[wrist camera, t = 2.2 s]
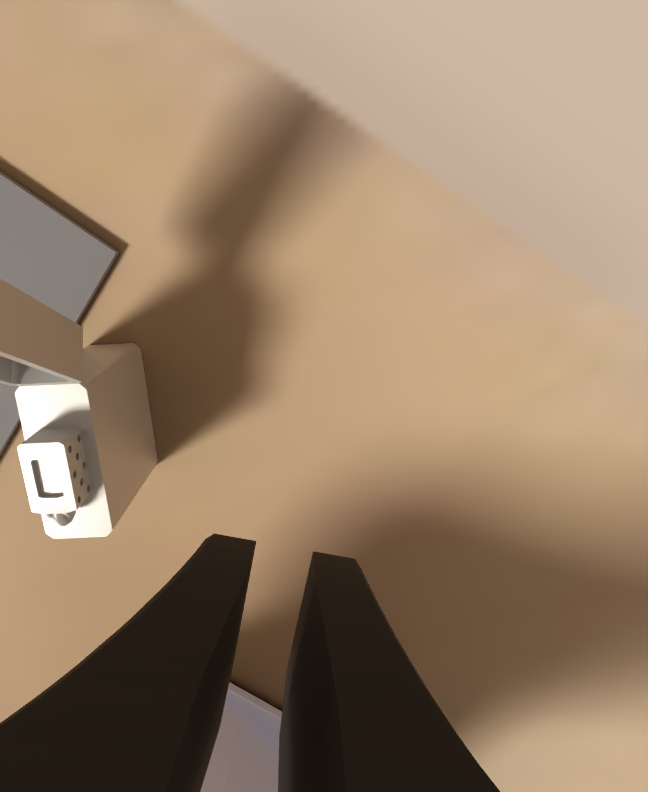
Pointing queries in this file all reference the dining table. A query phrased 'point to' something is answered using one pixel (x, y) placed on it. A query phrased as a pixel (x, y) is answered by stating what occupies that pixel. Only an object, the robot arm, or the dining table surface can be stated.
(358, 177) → the dining table surface
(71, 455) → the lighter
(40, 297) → the mat
